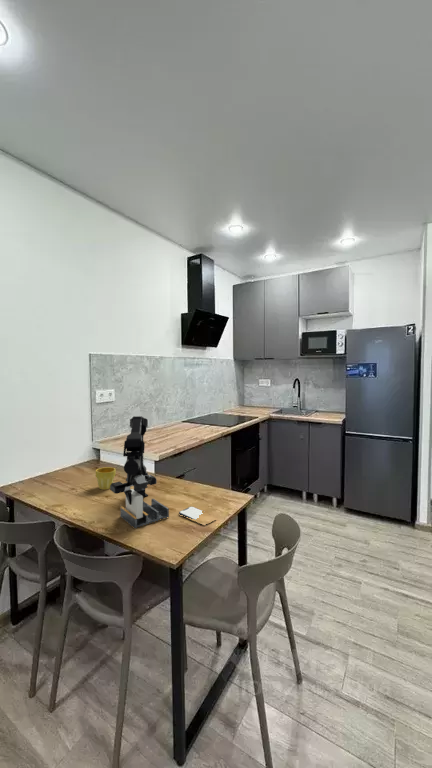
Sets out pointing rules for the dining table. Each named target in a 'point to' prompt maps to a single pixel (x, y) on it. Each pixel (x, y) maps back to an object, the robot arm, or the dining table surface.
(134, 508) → the panel
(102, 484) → the plant pot
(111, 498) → the dining table surface
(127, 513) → the rack
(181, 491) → the dining table surface
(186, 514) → the phone case
